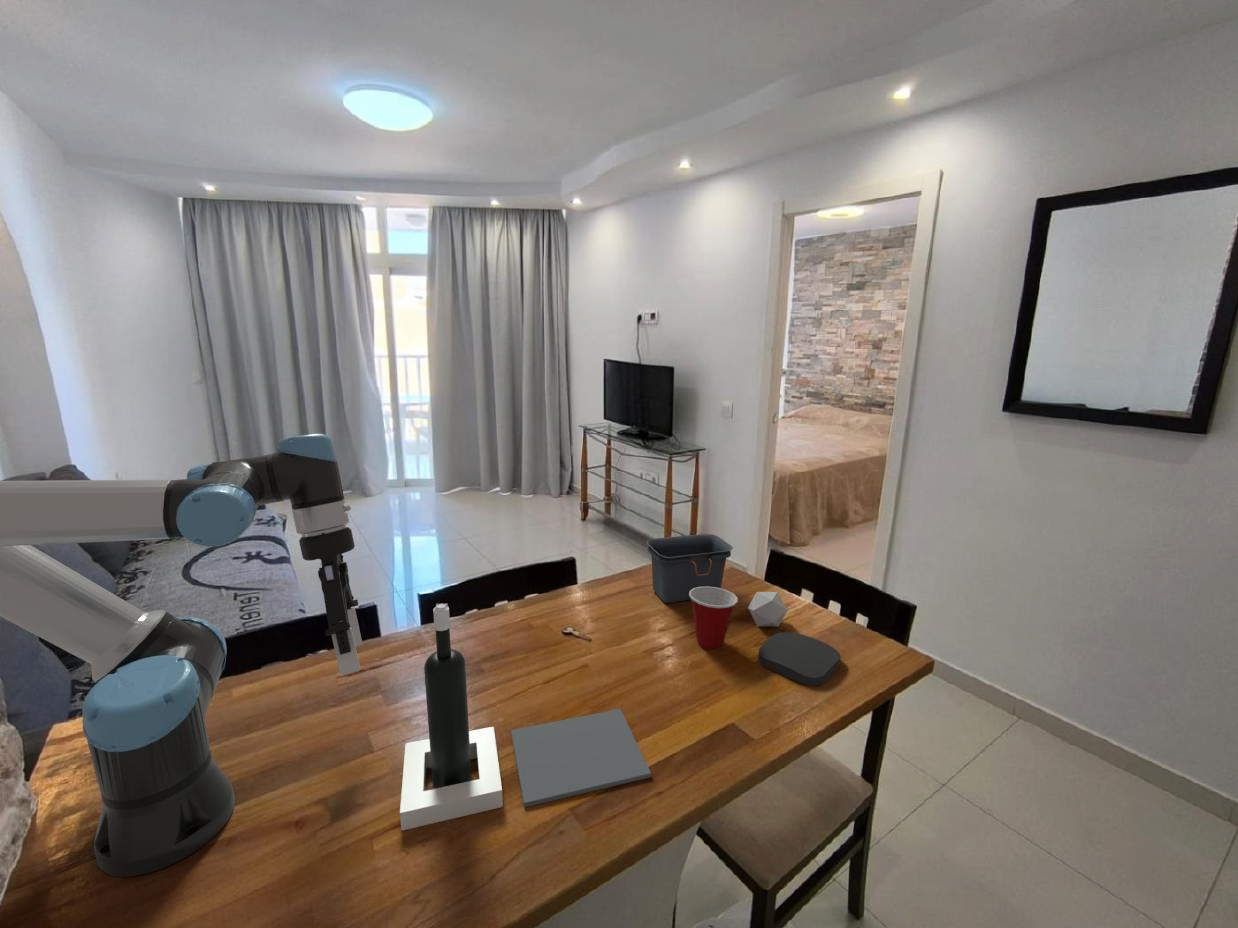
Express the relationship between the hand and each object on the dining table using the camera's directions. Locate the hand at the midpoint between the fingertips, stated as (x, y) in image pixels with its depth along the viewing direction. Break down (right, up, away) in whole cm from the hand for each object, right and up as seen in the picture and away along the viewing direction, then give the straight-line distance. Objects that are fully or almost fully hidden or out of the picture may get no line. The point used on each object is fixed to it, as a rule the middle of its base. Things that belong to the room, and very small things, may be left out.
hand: (352, 658), depth 90 cm
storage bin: (+62, -4, +59) cm, 86 cm away
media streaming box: (+82, -12, +30) cm, 88 cm away
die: (+79, -8, +45) cm, 92 cm away
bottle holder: (+17, -18, -4) cm, 25 cm away
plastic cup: (+64, -9, +36) cm, 74 cm away
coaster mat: (+36, -17, +2) cm, 40 cm away
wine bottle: (+17, -18, -4) cm, 25 cm away
